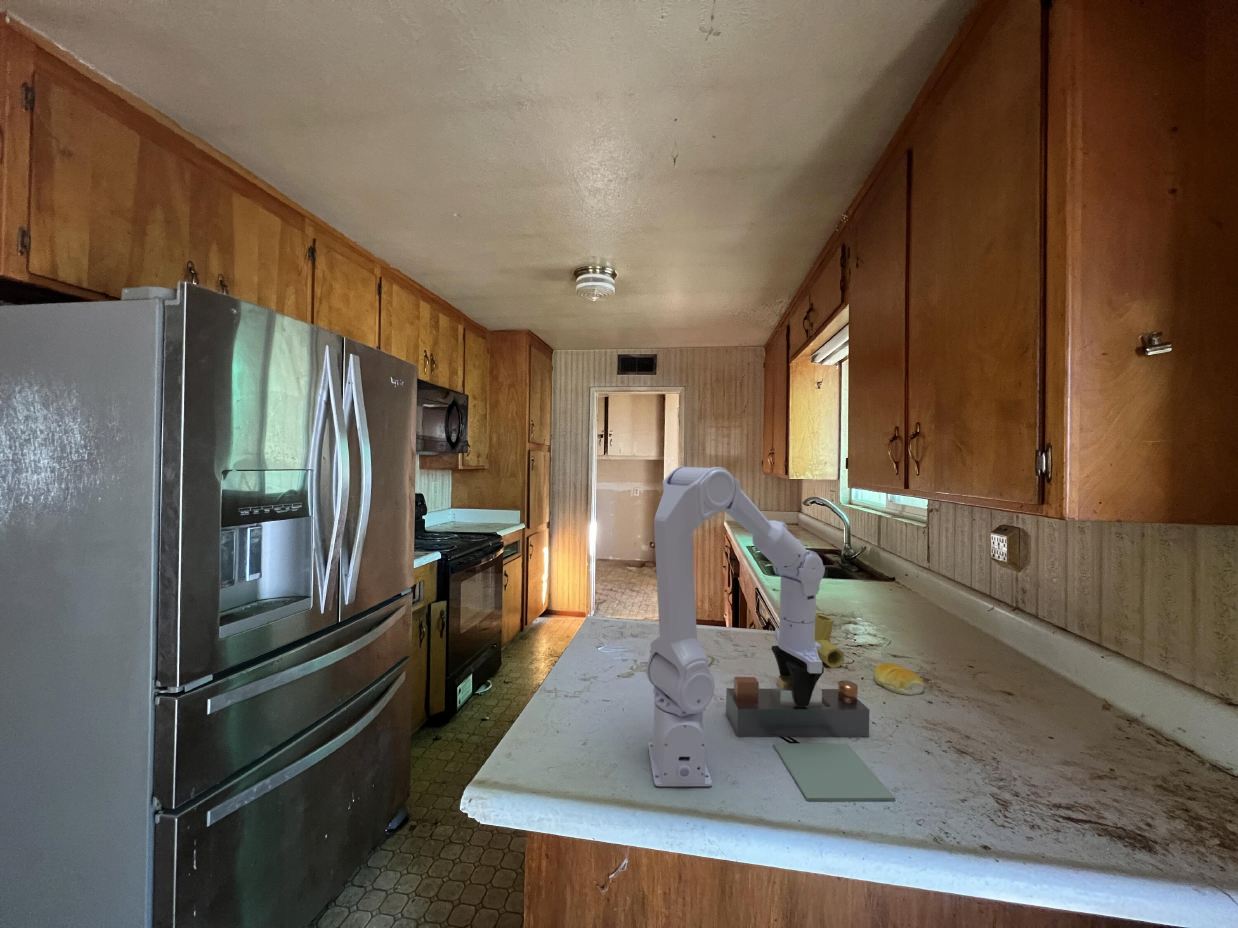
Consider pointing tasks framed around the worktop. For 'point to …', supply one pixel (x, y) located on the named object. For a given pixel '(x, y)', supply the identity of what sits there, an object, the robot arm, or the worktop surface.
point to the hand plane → (795, 713)
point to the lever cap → (791, 692)
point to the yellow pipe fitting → (827, 641)
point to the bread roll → (898, 679)
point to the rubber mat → (831, 773)
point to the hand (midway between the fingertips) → (795, 696)
